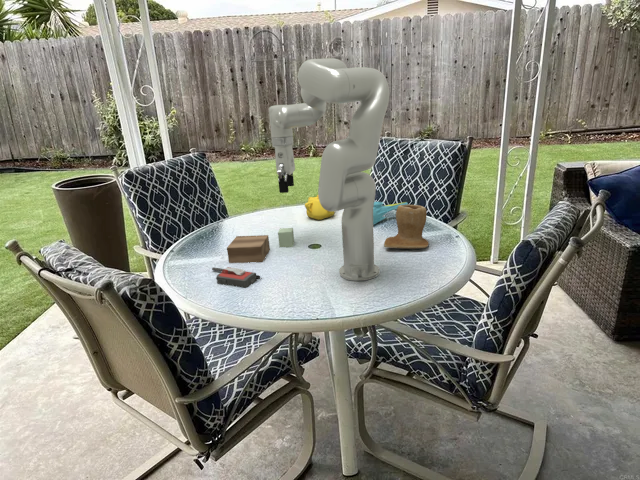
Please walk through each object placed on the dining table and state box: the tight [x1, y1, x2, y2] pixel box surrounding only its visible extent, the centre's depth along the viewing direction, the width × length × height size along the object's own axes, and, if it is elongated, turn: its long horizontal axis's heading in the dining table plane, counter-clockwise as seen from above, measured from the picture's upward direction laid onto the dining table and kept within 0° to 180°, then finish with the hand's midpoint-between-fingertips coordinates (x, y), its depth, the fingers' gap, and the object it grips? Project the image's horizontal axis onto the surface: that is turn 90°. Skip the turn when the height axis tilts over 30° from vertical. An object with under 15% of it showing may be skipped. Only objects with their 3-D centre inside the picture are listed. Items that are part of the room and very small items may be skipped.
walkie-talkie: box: [211, 266, 261, 289], centre depth 141 cm, size 9×4×20 cm
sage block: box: [277, 227, 295, 248], centre depth 166 cm, size 5×5×6 cm
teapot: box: [304, 194, 336, 221], centre depth 197 cm, size 14×13×10 cm
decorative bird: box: [373, 201, 409, 226], centre depth 183 cm, size 14×30×9 cm, turn 132°
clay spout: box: [383, 204, 430, 250], centre depth 155 cm, size 15×12×15 cm
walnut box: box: [226, 234, 271, 264], centre depth 158 cm, size 12×12×6 cm
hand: (287, 189), depth 161 cm, fingers open, 9 cm apart
